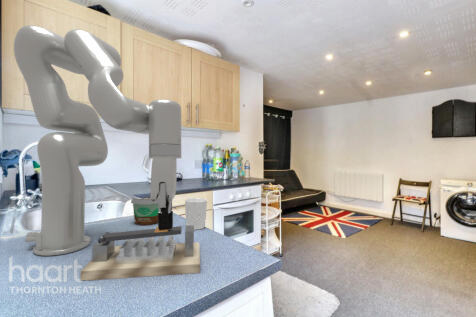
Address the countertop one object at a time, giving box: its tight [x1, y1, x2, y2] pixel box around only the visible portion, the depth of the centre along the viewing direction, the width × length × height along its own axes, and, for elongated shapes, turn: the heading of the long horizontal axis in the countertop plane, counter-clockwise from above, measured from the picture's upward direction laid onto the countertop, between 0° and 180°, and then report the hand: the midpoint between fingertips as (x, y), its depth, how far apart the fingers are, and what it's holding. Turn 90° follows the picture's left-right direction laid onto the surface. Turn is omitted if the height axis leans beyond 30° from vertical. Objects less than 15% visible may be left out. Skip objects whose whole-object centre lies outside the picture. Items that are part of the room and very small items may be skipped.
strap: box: [97, 225, 183, 243], centre depth 55 cm, size 18×4×2 cm, turn 100°
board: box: [79, 241, 201, 281], centre depth 55 cm, size 24×13×2 cm, turn 100°
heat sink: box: [91, 225, 195, 265], centre depth 55 cm, size 22×9×6 cm, turn 100°
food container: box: [130, 197, 159, 226], centre depth 87 cm, size 12×6×10 cm, turn 106°
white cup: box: [184, 197, 208, 231], centre depth 84 cm, size 8×8×10 cm
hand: (165, 228), depth 56 cm, fingers closed
